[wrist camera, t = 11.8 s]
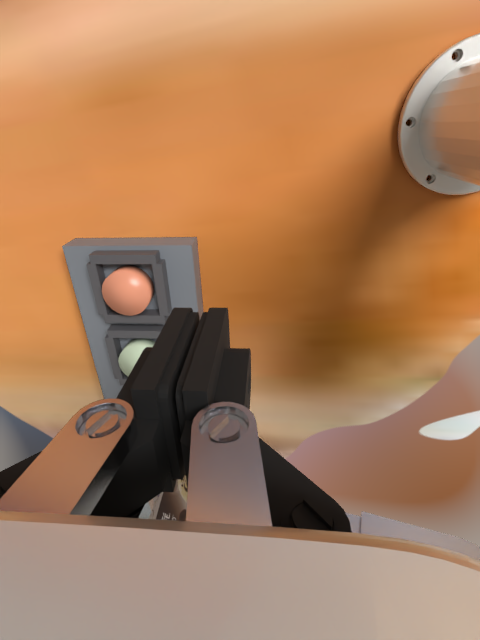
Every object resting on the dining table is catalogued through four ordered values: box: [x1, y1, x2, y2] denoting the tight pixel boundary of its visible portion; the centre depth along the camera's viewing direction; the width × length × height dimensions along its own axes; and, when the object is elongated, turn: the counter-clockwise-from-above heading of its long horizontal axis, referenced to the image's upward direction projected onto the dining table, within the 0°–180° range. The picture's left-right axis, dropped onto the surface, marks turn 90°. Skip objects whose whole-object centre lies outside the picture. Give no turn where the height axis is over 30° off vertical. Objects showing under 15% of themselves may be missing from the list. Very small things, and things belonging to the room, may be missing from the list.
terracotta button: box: [102, 265, 154, 316], centre depth 38 cm, size 5×5×2 cm
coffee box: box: [148, 474, 188, 521], centre depth 51 cm, size 9×6×16 cm
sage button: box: [118, 338, 155, 376], centre depth 43 cm, size 5×5×2 cm
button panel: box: [62, 237, 203, 399], centre depth 44 cm, size 14×27×4 cm, turn 2°
